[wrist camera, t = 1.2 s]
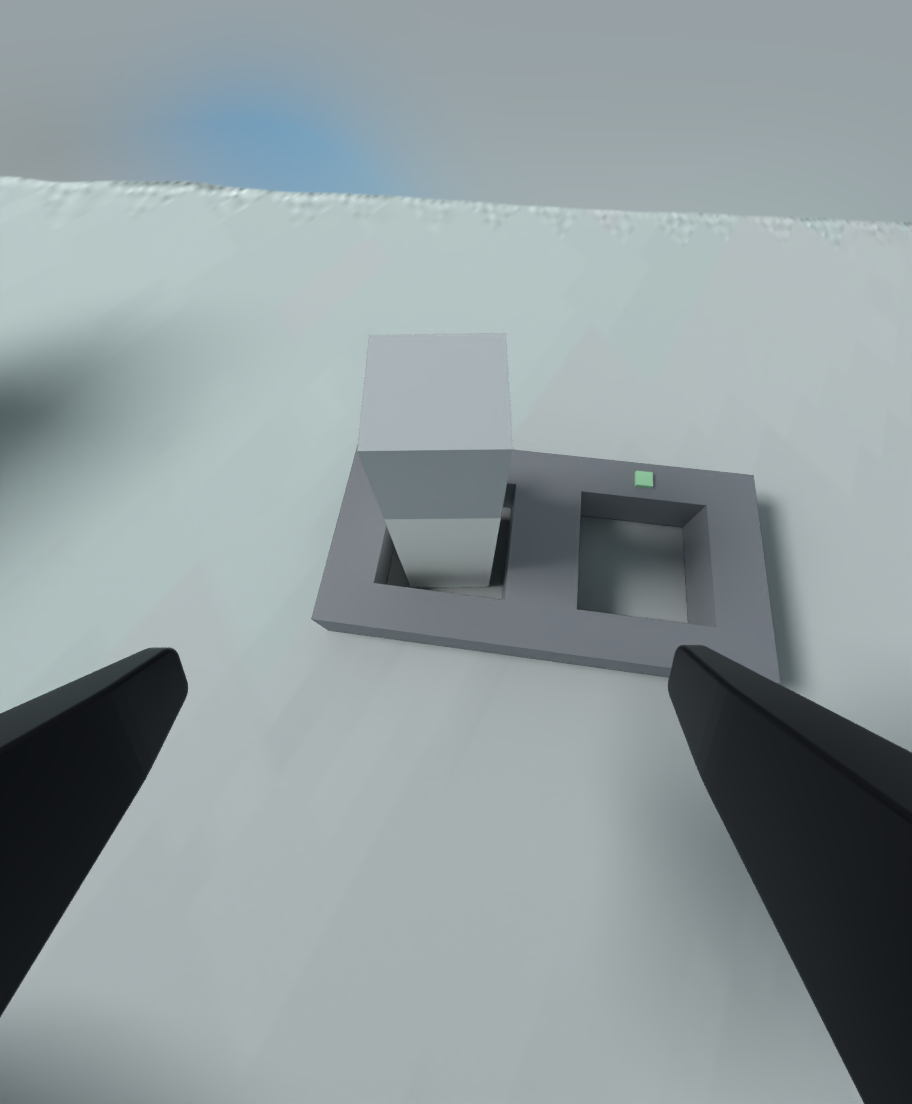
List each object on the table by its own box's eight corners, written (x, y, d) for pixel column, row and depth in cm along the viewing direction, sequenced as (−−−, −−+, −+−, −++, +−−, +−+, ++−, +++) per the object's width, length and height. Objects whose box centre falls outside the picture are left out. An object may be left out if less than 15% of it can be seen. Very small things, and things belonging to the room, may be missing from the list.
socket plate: (743, 687, 20) (784, 682, 18) (327, 630, 22) (310, 618, 19) (725, 499, 24) (755, 473, 21) (370, 460, 25) (359, 431, 23)
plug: (488, 586, 22) (513, 449, 11) (410, 587, 22) (357, 450, 11) (486, 503, 24) (504, 313, 13) (414, 504, 24) (370, 315, 13)
